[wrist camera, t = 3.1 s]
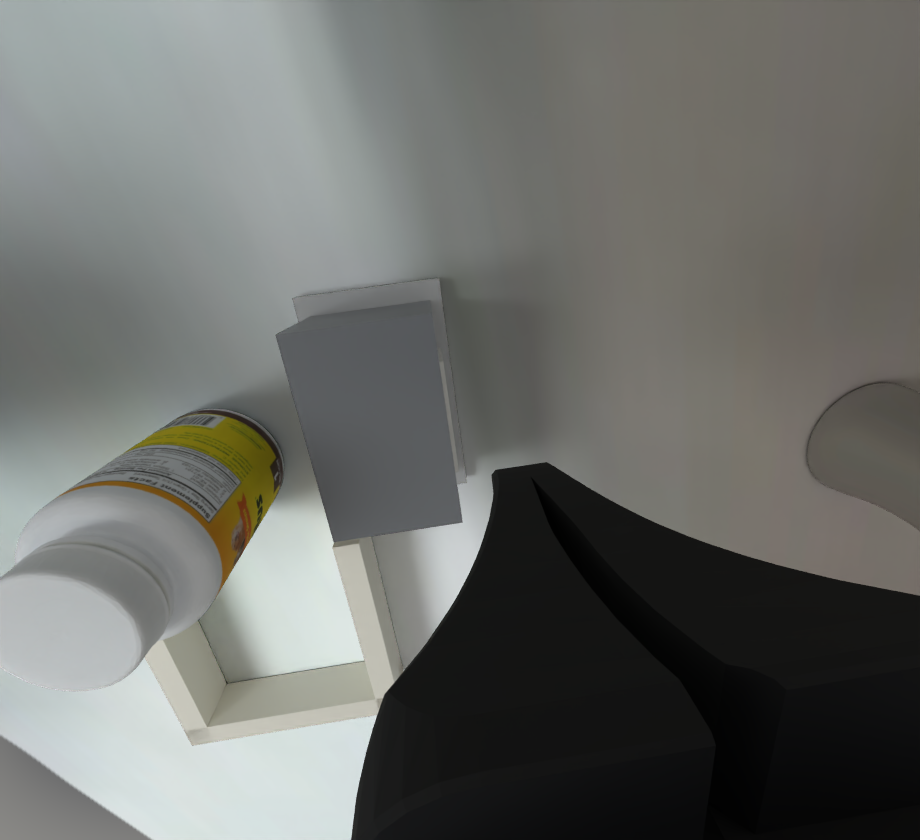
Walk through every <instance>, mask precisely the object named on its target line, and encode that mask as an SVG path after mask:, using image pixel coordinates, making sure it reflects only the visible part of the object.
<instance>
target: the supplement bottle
mask: <svg viewBox="0 0 920 840" xmlns="http://www.w3.org/2000/svg"><path fill="white" fill-rule="evenodd" d="M283 476H284V462H283V457H282V454H281V451H280V448H279V446H278V444H277V443H276V441H275V440H274V438H273V437H272V436H271V434H270V433H269V432H268V431H267V430H266V429H265V428H264V427H263V426H261V425H260V424H259V423H258V422H256V421H254V420H253V419H251V418H249V417H247V416H245V415H243V414H240V413H237V412H234V411H230V410H225V409H202V410H197V411H193V412H190V413H187V414H185V415H183V416H181V417H179V418H177V419H176V420H174V421H172V422H171V423H169V424H168V425H166V426H165V427H163V428H161V429H160V430H158V431H157V432H155V433H153V434H152V435H150V436H149V437H147V438H146V439H145V440H143V441H142V442H140V443H138V444H137V445H135V446H134V447H132V448H131V449H129V450H128V451H126V452H125V453H123V454H122V455H120V456H119V457H117V458H115V459H114V460H113V461H111V462H110V463H108V464H107V465H105V466H104V467H102V468H101V469H99V470H98V471H96V472H95V473H93V474H92V475H90V476H88V477H87V478H86V479H84V480H83V481H81V482H79V483H78V484H76V485H75V486H73V487H72V488H70V489H69V490H67V491H66V492H64V493H63V494H61V495H60V496H58V497H57V498H55V499H54V500H52V501H51V502H50V503H48V504H47V505H46V506H44V507H43V508H42V509H40V510H39V511H38V512H37V513H36V514H35V515H34V516H33V517H32V518H31V519H30V520H29V522H28V523H27V524H26V526H25V527H24V529H23V530H22V532H21V534H20V536H19V539H18V542H17V546H16V550H15V566H14V567H13V568H12V569H11V570H10V571H8V572H7V573H6V574H5V575H3V576H2V577H1V578H0V668H2V669H3V670H5V671H6V672H8V673H9V674H11V675H13V676H15V677H17V678H19V679H21V680H23V681H25V682H28V683H31V684H34V685H37V686H40V687H44V688H49V689H54V690H61V691H89V690H95V689H99V688H104V687H107V686H110V685H112V684H115V683H117V682H119V681H121V680H122V679H124V678H125V677H127V676H128V675H129V674H131V673H132V672H133V671H134V670H135V669H136V668H137V666H138V665H139V664H140V663H141V661H142V660H143V658H144V657H145V656H146V654H147V653H148V651H149V650H150V649H151V647H152V646H153V645H154V644H156V642H157V641H160V640H164V639H167V638H169V637H172V636H174V635H177V634H179V633H180V632H182V631H184V630H186V629H187V628H189V627H190V626H191V625H193V624H194V623H195V622H197V621H198V620H199V619H200V618H201V617H202V616H203V615H204V613H205V612H206V611H207V610H208V608H209V607H210V605H211V604H212V602H213V601H214V600H215V598H216V597H217V595H218V593H219V591H220V590H221V588H222V586H223V585H224V583H225V581H226V580H227V578H228V576H229V574H230V573H231V571H232V569H233V568H234V566H235V564H236V563H237V561H238V559H239V558H240V556H241V555H242V553H243V551H244V549H245V548H246V546H247V544H248V543H249V541H250V539H251V538H252V536H253V534H254V533H255V531H256V529H257V528H258V526H259V524H260V523H261V521H262V519H263V518H264V516H265V514H266V513H267V511H268V509H269V508H270V506H271V504H272V502H273V501H274V499H275V497H276V496H277V494H278V492H279V490H280V487H281V485H282V481H283Z"/></svg>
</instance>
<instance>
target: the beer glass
mask: <svg viewBox="0 0 920 840" xmlns="http://www.w3.org/2000/svg"><path fill="white" fill-rule="evenodd" d="M807 462H808V466H809V469H810V471H811V473H812V474H813V476H814V477H815V478H816V479H817V480H818V481H819V482H820V483H822V484H823V485H825V486H827V487H829V488H831V489H833V490H836V491H838V492H841V493H844V494H847V495H849V496H852V497H855V498H858V499H861V500H864V501H866V502H869V503H871V504H874V505H876V506H878V507H880V508H882V509H884V510H886V511H888V512H890V513H892V514H894V515H896V516H897V517H899V518H900V519H902V520H904V521H905V522H907V523H909V524H910V525H912V526H913V527H914V528H916V529H917V530H918V531H920V393H919V392H917V391H915V390H913V389H911V388H908V387H906V386H902V385H899V384H894V383H875V384H871V385H867V386H864V387H861V388H858V389H856V390H854V391H852V392H850V393H848V394H847V395H845V396H844V397H842V398H841V399H839V400H838V401H837V402H835V403H834V404H833V405H832V406H831V407H830V408H829V409H828V410H827V411H826V412H825V413H824V414H823V416H822V417H821V418H820V420H819V421H818V423H817V424H816V426H815V428H814V430H813V432H812V434H811V436H810V439H809V443H808V448H807Z"/></svg>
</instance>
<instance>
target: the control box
mask: <svg viewBox="0 0 920 840" xmlns="http://www.w3.org/2000/svg"><path fill="white" fill-rule="evenodd" d="M292 300H293V303H294V307H295V311H296V315H297V319H298V323H297V324H295V325H293V326H291V327H289V328H287V329H286V330H284V331H282V332H280V333H278V334H276V338H277V342H278V345H279V349H280V352H281V356H282V360H283V363H284V367H285V370H286V374H287V377H288V381H289V384H290V388H291V392H292V395H293V399H294V402H295V406H296V409H297V413H298V417H299V420H300V424H301V427H302V431H303V434H304V438H305V441H306V445H307V449H308V452H309V456H310V459H311V463H312V466H313V470H314V474H315V477H316V481H317V484H318V488H319V491H320V495H321V498H322V502H323V506H324V509H325V513H326V516H327V520H328V523H329V527H330V531H331V534H332V538H333V541H334V542H339V541H345V540H352V539H358V538H365V537H371V536H378V535H384V534H391V533H397V532H404V531H410V530H417V529H423V528H430V527H436V526H443V525H449V524H456V523H462V515H461V508H460V501H459V495H458V488H457V484H462V483H467V480H466V473H465V465H464V458H463V451H462V443H461V436H460V429H459V421H458V414H457V407H456V399H455V392H454V384H453V377H452V370H451V362H450V355H449V348H448V340H447V333H446V326H445V318H444V311H443V304H442V296H441V289H440V281H439V278H432V279H425V280H417V281H410V282H403V283H395V284H388V285H381V286H373V287H366V288H359V289H351V290H344V291H337V292H329V293H322V294H314V295H307V296H300V297H295V298H292Z"/></svg>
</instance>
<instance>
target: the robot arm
mask: <svg viewBox="0 0 920 840" xmlns="http://www.w3.org/2000/svg"><path fill="white" fill-rule="evenodd" d="M492 484H493V493H494V494H493V502H492V507H491V513H490V517H489V521H488V525H487V528H486V531H485V535H484V538H483V541H482V544H481V547H480V550H479V552H478V555H477V557H476V560H475V562H474V564H473V566H472V569H471V571H470V573H469V575H468V577H467V579H466V581H465V583H464V585H463V586H462V588H461V590H460V592H459V594H458V596H457V598H456V599H455V601H454V603H453V604H452V606H451V608H450V609H449V611H448V612H447V614H446V615H445V617H444V618H443V620H442V621H441V623H440V624H439V626H438V627H437V629H436V630H435V632H434V633H433V634H432V636H431V637H430V639H429V640H428V642H427V643H426V644H425V646H424V647H423V648H422V650H421V651H420V652H419V653H418V655H417V656H416V657H415V658H414V659H413V661H412V662H411V663H410V664H409V665H408V667H407V668H406V669H405V670H404V672H403V673H402V674H401V675H400V676H399V678H398V679H397V680H396V681H395V682H394V684H393V685H392V686H391V687H390V688H389V689H388V691H387V692H386V693H385V694H384V697H383V700H382V703H381V706H380V709H379V712H378V715H377V718H376V721H375V724H374V727H373V730H372V734H371V738H370V741H369V745H368V748H367V752H366V756H365V760H364V764H363V769H362V773H361V778H360V782H359V787H358V792H357V797H356V805H355V813H354V821H353V830H352V838H351V840H920V596H918V595H913V594H908V593H903V592H897V591H892V590H887V589H882V588H877V587H871V586H866V585H861V584H856V583H851V582H846V581H840V580H836V579H832V578H827V577H823V576H819V575H815V574H811V573H807V572H803V571H799V570H795V569H791V568H787V567H783V566H779V565H775V564H772V563H768V562H765V561H761V560H758V559H754V558H751V557H747V556H744V555H741V554H738V553H735V552H732V551H729V550H726V549H723V548H720V547H717V546H713V545H710V544H708V543H705V542H702V541H699V540H696V539H694V538H691V537H688V536H686V535H684V534H681V533H679V532H676V531H674V530H671V529H669V528H666V527H664V526H662V525H659V524H657V523H655V522H652V521H650V520H648V519H646V518H644V517H642V516H640V515H638V514H636V513H634V512H632V511H630V510H628V509H626V508H624V507H622V506H620V505H618V504H616V503H614V502H612V501H611V500H609V499H607V498H605V497H603V496H602V495H600V494H598V493H596V492H595V491H593V490H591V489H590V488H588V487H586V486H585V485H583V484H581V483H580V482H578V481H577V480H575V479H573V478H572V477H570V476H569V475H567V474H565V473H564V472H562V471H561V470H559V469H557V468H556V467H554V466H552V465H551V464H549V463H547V462H545V463H539V464H532V465H525V466H519V467H512V468H505V469H499V470H495V471H494V473H493V474H492Z"/></svg>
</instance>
